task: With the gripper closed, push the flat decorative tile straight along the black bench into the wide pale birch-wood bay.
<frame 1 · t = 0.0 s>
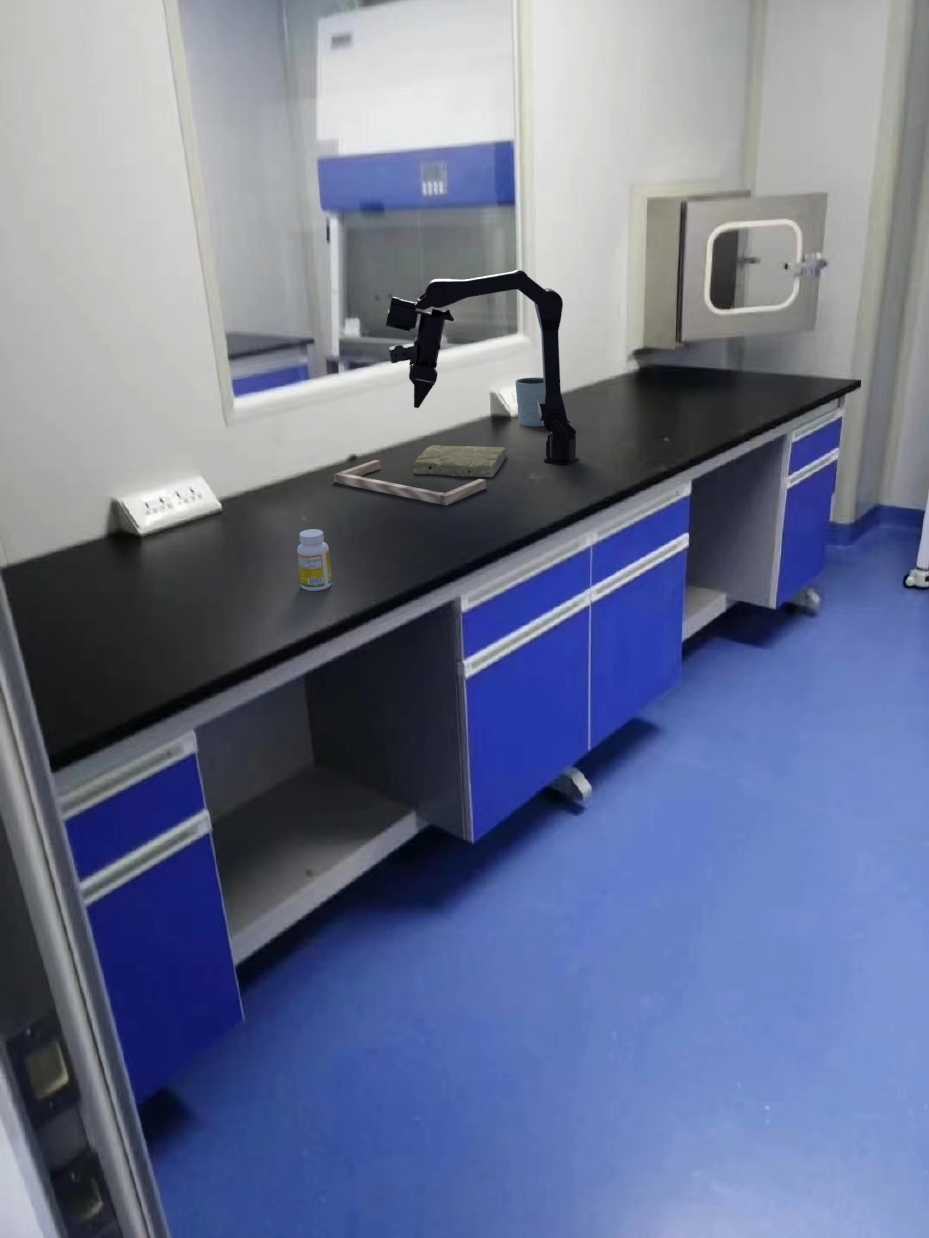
hand: (416, 403, 221), 15 cm above the worktop, tool pointing down, fingers open, 9 cm apart
light blue cup: (533, 423, 266), on the worktop
supplement bottle: (316, 586, 162), on the worktop
decorative tile: (459, 468, 228), on the worktop
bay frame: (412, 484, 215), on the worktop
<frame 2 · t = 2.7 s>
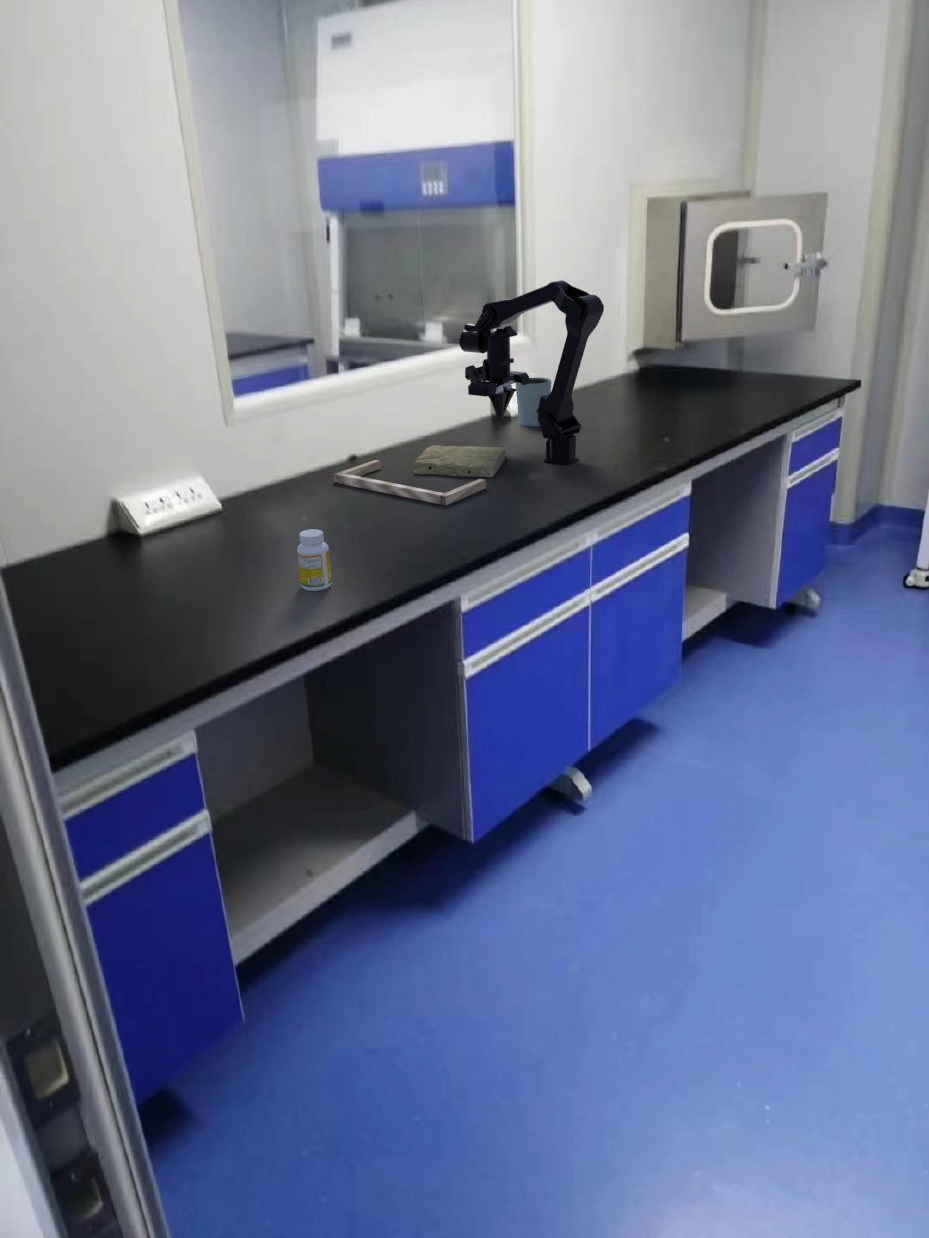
hand: (499, 418, 236), 8 cm above the worktop, tool pointing down, fingers closed
nothing on the worktop moved.
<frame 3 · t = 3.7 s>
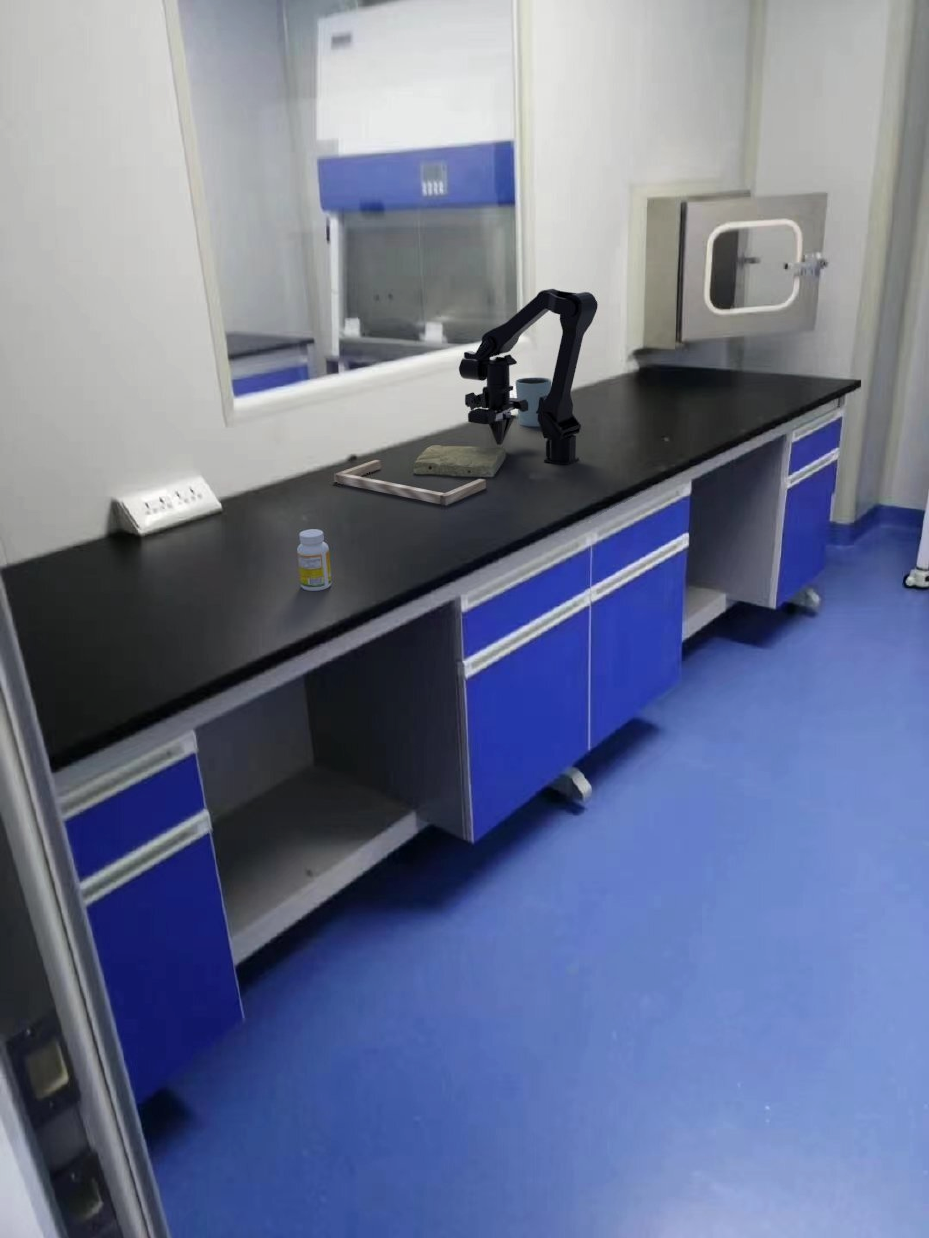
hand: (499, 444, 239), 2 cm above the worktop, tool pointing down, fingers closed
nothing on the worktop moved.
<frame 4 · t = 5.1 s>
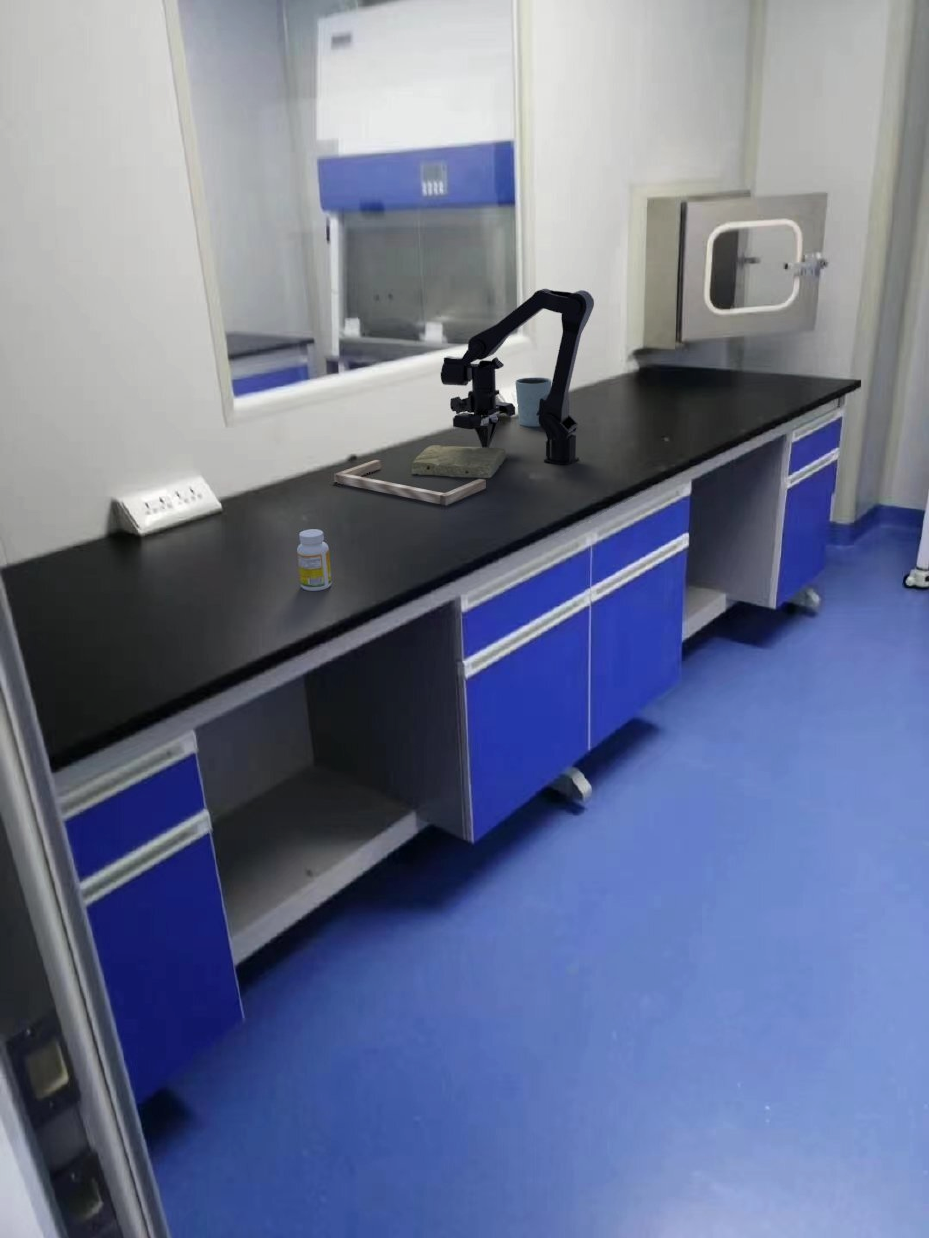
hand: (485, 449, 235), 2 cm above the worktop, tool pointing down, fingers closed
nothing on the worktop moved.
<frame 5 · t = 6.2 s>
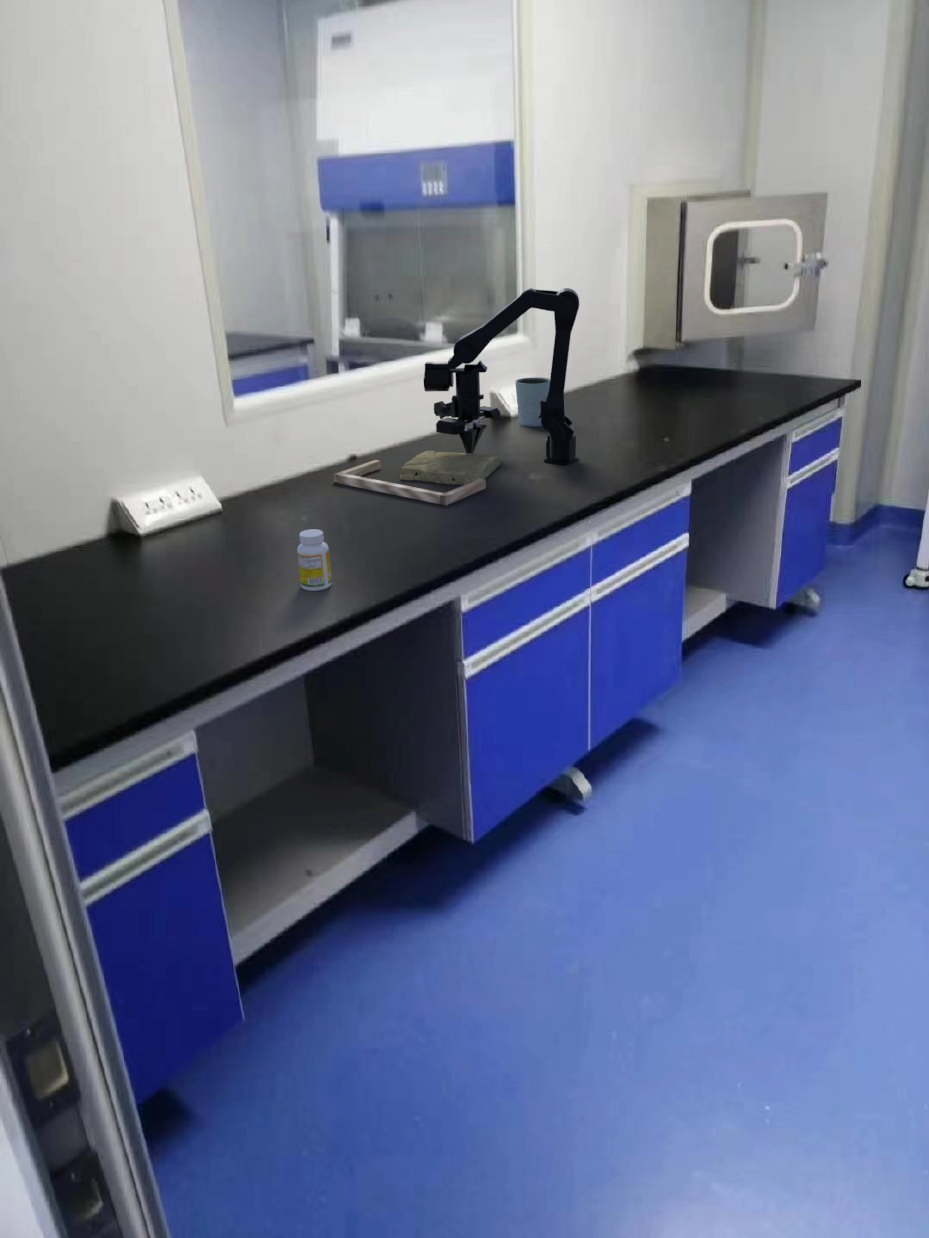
hand: (469, 455, 230), 2 cm above the worktop, tool pointing down, fingers closed
decorative tile: (449, 475, 223), on the worktop, touching gripper
everything else where it was.
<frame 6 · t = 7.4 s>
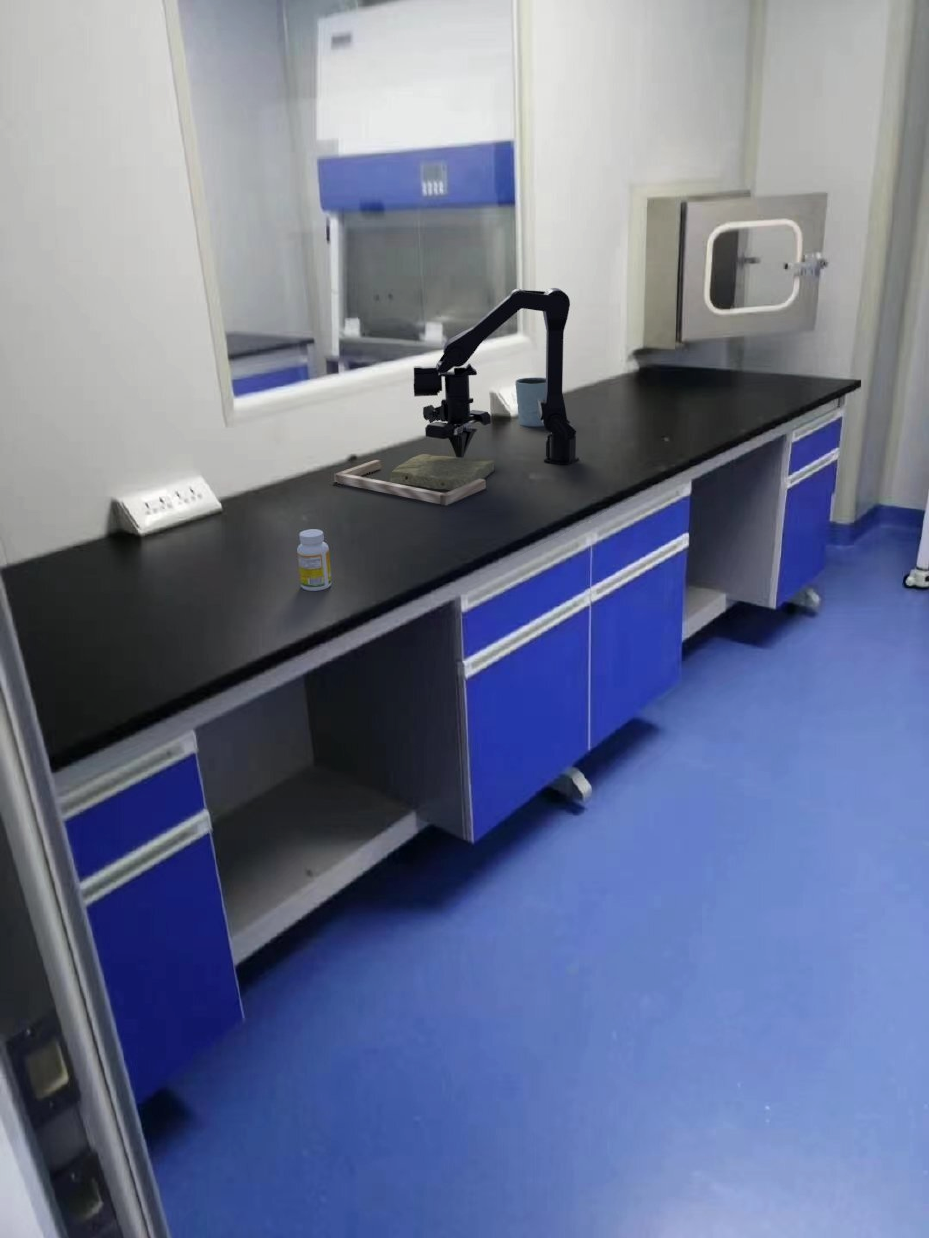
hand: (459, 459, 227), 2 cm above the worktop, tool pointing down, fingers closed
decorative tile: (441, 480, 220), on the worktop
everything else where it was.
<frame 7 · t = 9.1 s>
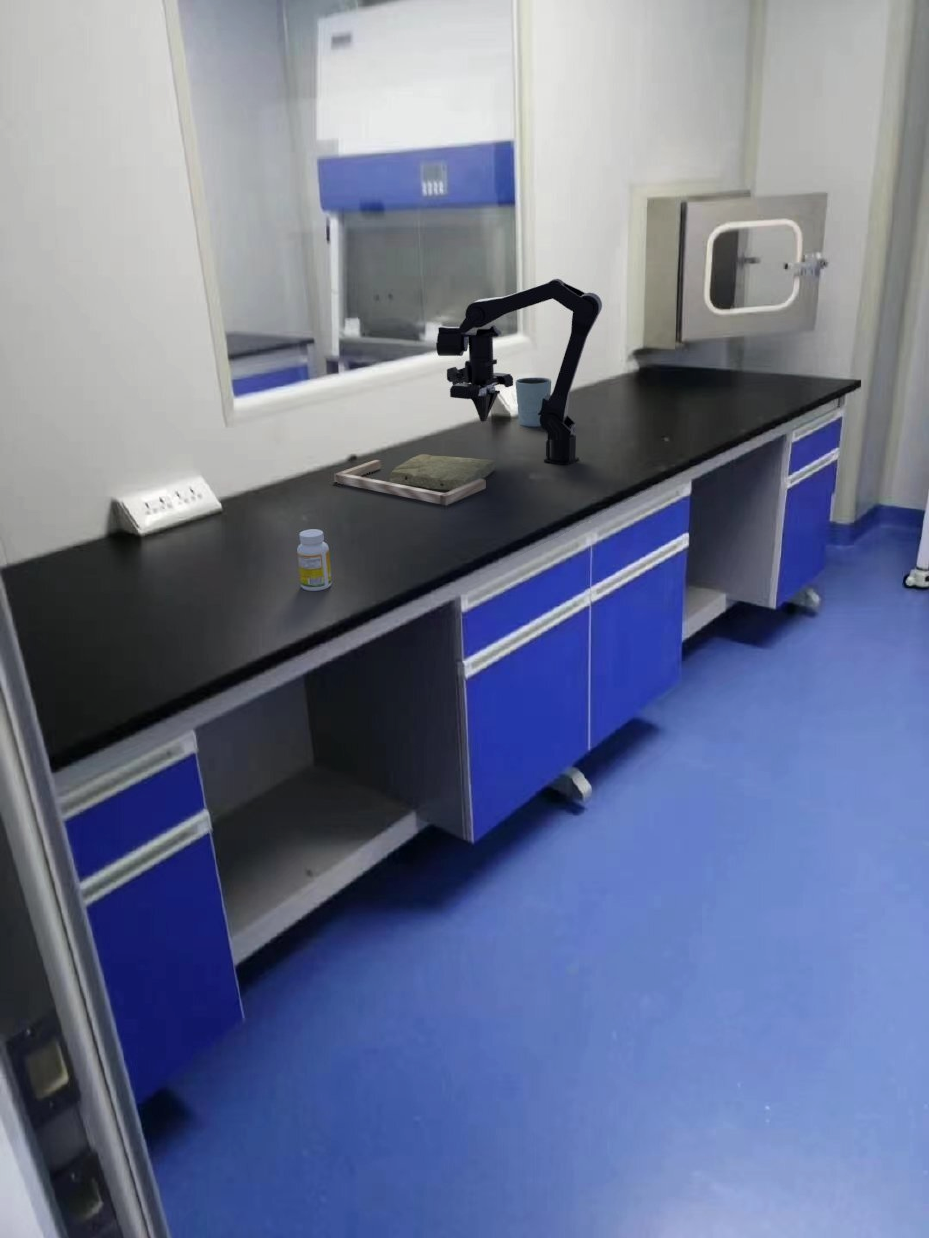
hand: (483, 421, 229), 9 cm above the worktop, tool pointing down, fingers closed
nothing on the worktop moved.
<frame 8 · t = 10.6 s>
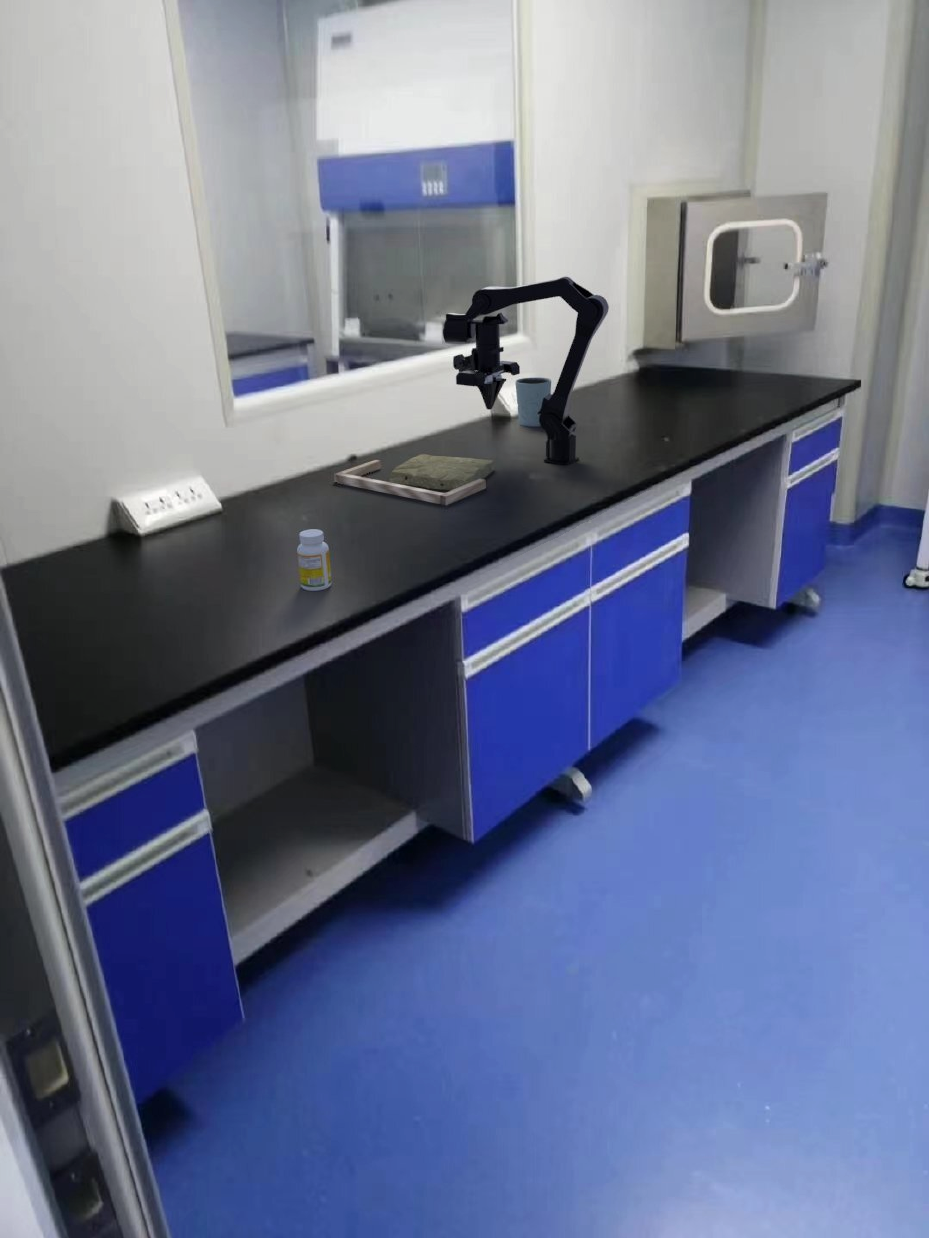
hand: (489, 409, 229), 12 cm above the worktop, tool pointing down, fingers closed
nothing on the worktop moved.
at the end: decorative tile inside the target area (2.4 cm from its centre), on the worktop; decorative tile tilted 0°; the gripper is holding nothing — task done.
